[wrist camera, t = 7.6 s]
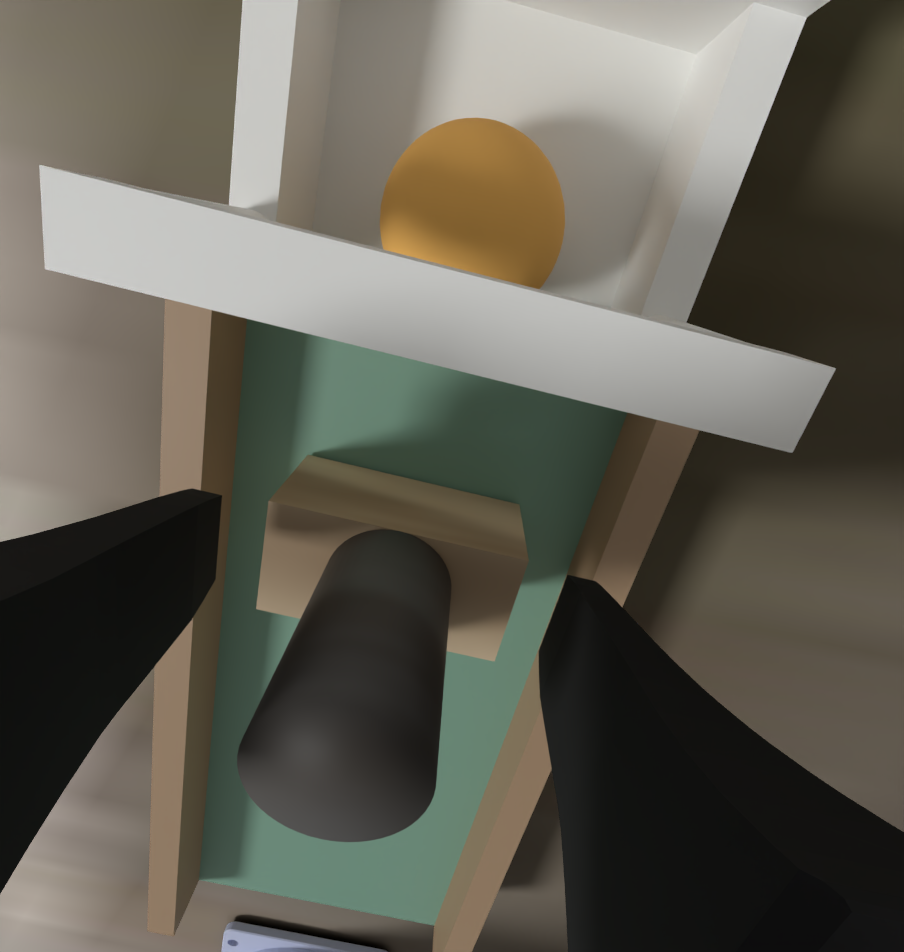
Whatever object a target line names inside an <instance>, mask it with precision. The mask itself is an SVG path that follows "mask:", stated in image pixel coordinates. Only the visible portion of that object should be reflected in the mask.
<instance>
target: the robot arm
mask: <svg viewBox="0 0 904 952" xmlns="http://www.w3.org/2000/svg"><path fill="white" fill-rule="evenodd" d="M221 504H222V495H219V494H215V493H210V492H206V491H201V490H197V489H193V488H191V489H186V490H182V491H178V492H174V493H171V494H167V495H164V496H161V497H158V498H154V499H151V500H148V501H145V502H142V503H139V504H135V505H132V506H129V507H126V508H123V509H119V510H116V511H113V512H110V513H107V514H104V515H100V516H97V517H94V518H90V519H87V520H83V521H80V522H76V523H72V524H69V525H65V526H61V527H58V528H54V529H51V530H47V531H43V532H40V533H36V534H32V535H28V536H24V537H20V538H16V539H11V540H7V541H3V542H0V893H1V892H2V890H3V888H4V887H5V885H6V883H7V882H8V880H9V878H10V877H11V875H12V873H13V872H14V870H15V868H16V867H17V865H18V863H19V862H20V860H21V858H22V856H23V855H24V853H25V851H26V850H27V848H28V847H29V845H30V843H31V842H32V840H33V839H34V837H35V835H36V834H37V832H38V831H39V829H40V827H41V826H42V824H43V823H44V821H45V819H46V818H47V816H48V815H49V813H50V812H51V810H52V808H53V807H54V805H55V804H56V802H57V800H58V799H59V797H60V796H61V794H62V792H63V791H64V789H65V788H66V786H67V785H68V783H69V782H70V780H71V779H72V777H73V776H74V774H75V773H76V771H77V770H78V768H79V766H80V765H81V763H82V762H83V760H84V759H85V757H86V756H87V754H88V753H89V751H90V750H91V748H92V747H93V745H94V744H95V742H96V741H97V739H98V738H99V736H100V735H101V733H102V732H103V731H104V729H105V728H106V727H107V725H108V724H109V723H110V721H111V720H112V719H113V717H114V716H115V715H116V713H117V712H118V711H119V710H120V708H121V707H122V706H123V705H124V703H125V702H126V701H127V700H128V698H129V697H130V696H131V695H132V693H133V692H134V691H135V690H136V689H137V687H138V686H139V685H140V684H141V682H142V681H143V680H144V679H145V677H146V676H147V675H148V674H149V673H150V671H151V670H152V669H153V668H154V666H155V665H156V664H157V663H158V661H159V660H160V659H161V658H162V657H163V655H164V654H165V653H166V652H167V650H168V649H169V648H170V647H171V645H172V644H173V643H174V642H175V640H176V639H177V638H178V637H179V635H180V634H181V633H182V632H183V630H184V629H185V628H186V626H187V625H188V624H189V623H190V621H191V620H192V618H193V617H194V615H195V614H196V612H197V610H198V609H199V607H200V605H201V604H202V602H203V601H204V599H205V597H206V595H207V594H208V592H209V590H210V588H211V587H212V585H213V583H214V582H215V580H216V568H217V555H218V542H219V529H220V517H221ZM539 689H540V701H541V707H542V714H543V720H544V726H545V732H546V738H547V744H548V750H549V756H550V762H551V767H552V773H553V779H554V785H555V791H556V797H557V803H558V810H559V818H560V826H561V836H562V851H563V865H564V880H565V897H566V917H567V937H568V952H904V832H902V831H901V830H899V829H897V828H896V827H894V826H892V825H891V824H889V823H888V822H886V821H884V820H883V819H881V818H880V817H878V816H876V815H875V814H873V813H872V812H870V811H868V810H867V809H865V808H864V807H862V806H860V805H859V804H857V803H856V802H854V801H853V800H851V799H849V798H848V797H846V796H845V795H843V794H841V793H840V792H838V791H837V790H835V789H834V788H832V787H831V786H829V785H828V784H826V783H825V782H824V781H822V780H821V779H819V778H818V777H816V776H815V775H813V774H812V773H810V772H809V771H807V770H806V769H805V768H803V767H802V766H800V765H799V764H798V763H796V762H795V761H793V760H792V759H791V758H789V757H788V756H787V755H785V754H784V753H782V752H781V751H780V750H778V749H777V748H775V747H774V746H773V745H771V744H770V743H769V742H767V741H766V740H765V739H763V738H762V737H761V736H759V735H758V734H757V733H756V732H754V731H753V730H752V729H750V728H749V727H748V726H747V725H745V724H744V723H743V722H742V721H741V720H739V719H738V718H737V717H736V716H735V715H733V714H732V713H731V712H730V711H728V710H727V709H726V708H725V707H724V706H722V705H721V704H720V703H719V702H718V701H716V700H715V699H714V698H713V697H712V696H711V695H710V694H708V693H707V692H706V691H705V690H704V689H703V688H702V687H701V686H700V685H698V684H697V683H696V682H695V681H694V680H693V679H692V678H691V677H690V676H689V675H688V674H687V673H686V672H685V671H684V670H683V669H682V668H680V667H679V666H678V665H677V664H676V663H675V662H674V661H673V660H672V659H671V658H670V657H669V656H668V655H667V654H666V653H665V652H664V651H663V650H662V649H661V648H660V647H659V646H658V645H657V644H656V643H655V642H654V641H653V640H652V638H651V637H650V636H649V635H648V634H647V633H646V632H645V631H644V630H643V629H642V628H641V627H640V626H639V625H638V624H637V623H636V622H635V621H634V619H633V618H632V617H631V616H630V615H629V614H628V613H627V612H626V611H625V610H624V609H623V608H622V607H621V606H620V604H619V603H618V602H617V601H616V600H615V599H614V598H613V597H612V596H611V595H610V594H609V593H608V592H607V591H606V590H605V589H604V588H603V587H602V586H601V585H600V584H599V583H597V582H596V581H593V580H589V579H584V578H580V577H576V576H571V575H567V577H566V580H565V583H564V585H563V588H562V591H561V593H560V596H559V599H558V601H557V604H556V607H555V609H554V612H553V614H552V617H551V620H550V622H549V625H548V628H547V630H546V633H545V636H544V638H543V641H542V644H541V646H540V649H539ZM221 952H388V951H386V950H383V949H378V948H373V947H368V946H363V945H357V944H352V943H347V942H342V941H336V940H331V939H326V938H321V937H316V936H310V935H305V934H300V933H295V932H289V931H284V930H279V929H274V928H269V927H263V926H258V925H253V924H248V923H242V922H236V921H234V922H230V923H229V924H227V926H226V929H225V931H224V935H223V943H222V951H221Z"/></svg>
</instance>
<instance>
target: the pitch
mask: <svg viewBox="0 0 904 952" xmlns="http://www.w3.org/2000/svg"><path fill="white" fill-rule="evenodd" d="M829 1H830V0H243V4H242V19H241V34H240V49H239V64H238V78H237V93H236V108H235V123H234V137H233V152H232V167H231V182H230V197H229V205H225V204H220V203H215V202H210V201H205V200H200V199H195V198H190V197H185V196H180V195H175V194H170V193H165V192H160V191H155V190H150V189H145V188H141V187H137V186H133V185H129V184H125V183H121V182H118V181H114V180H110V179H106V178H102V177H97V176H92V175H87V174H82V173H77V172H72V171H67V170H63V169H58V168H53V167H48V166H43V165H39V167H40V186H41V204H42V223H43V241H44V260H45V269H47V270H51V271H55V272H60V273H64V274H68V275H72V276H76V277H80V278H84V279H88V280H92V281H96V282H100V283H104V284H108V285H112V286H116V287H120V288H124V289H128V290H133V291H137V292H141V293H145V294H149V295H153V296H157V297H161V298H165V320H164V356H163V392H162V428H161V464H160V497H161V496H164V495H167V494H171V493H174V492H178V491H182V490H186V489H191V488H193V489H197V490H201V491H206V492H210V493H215V494H219V495H222V504H221V517H220V529H219V542H218V555H217V568H216V580H215V582H214V583H213V585H212V587H211V588H210V590H209V592H208V594H207V595H206V597H205V599H204V601H203V602H202V604H201V605H200V607H199V609H198V610H197V612H196V614H195V615H194V617H193V618H192V620H191V621H190V623H189V624H188V625H187V626H186V628H185V629H184V630H183V632H182V633H181V634H180V635H179V637H178V638H177V639H176V640H175V642H174V643H173V644H172V645H171V647H170V648H169V649H168V650H167V652H166V653H165V654H164V655H163V657H162V658H161V659H160V660H159V661H158V663H157V664H156V665H155V678H154V714H153V750H152V785H151V821H150V857H149V893H148V928H147V931H148V932H154V933H159V934H164V935H169V936H174V935H175V932H176V930H177V928H178V926H179V923H180V921H181V919H182V917H183V914H184V912H185V910H186V908H187V905H188V903H189V901H190V899H191V896H192V894H193V892H194V890H195V888H196V885H197V883H198V881H199V880H203V881H208V882H213V883H218V884H223V885H228V886H233V887H239V888H244V889H249V890H254V891H259V892H264V893H269V894H275V895H280V896H285V897H290V898H295V899H300V900H305V901H311V902H316V903H321V904H326V905H331V906H336V907H341V908H347V909H352V910H357V911H362V912H367V913H372V914H377V915H382V916H388V917H393V918H398V919H403V920H408V921H413V922H418V923H424V924H429V925H434V935H433V951H432V952H472V950H473V948H474V946H475V943H476V941H477V939H478V936H479V934H480V932H481V930H482V927H483V925H484V923H485V920H486V918H487V916H488V914H489V911H490V909H491V907H492V904H493V902H494V900H495V898H496V895H497V893H498V891H499V888H500V886H501V884H502V882H503V879H504V877H505V875H506V872H507V870H508V868H509V866H510V863H511V861H512V859H513V856H514V854H515V852H516V849H517V847H518V845H519V843H520V840H521V838H522V836H523V833H524V831H525V829H526V827H527V824H528V822H529V820H530V817H531V815H532V813H533V811H534V808H535V806H536V804H537V801H538V799H539V797H540V795H541V792H542V790H543V788H544V785H545V783H546V781H547V779H548V776H549V774H550V772H551V769H552V767H551V762H550V756H549V750H548V744H547V738H546V732H545V726H544V720H543V714H542V707H541V701H540V689H539V649H540V646H541V644H542V641H543V638H544V636H545V633H546V630H547V628H548V625H549V622H550V620H551V617H552V614H553V612H554V609H555V607H556V604H557V601H558V599H559V596H560V593H561V591H562V588H563V585H564V583H565V580H566V577H567V575H571V576H576V577H580V578H584V579H589V580H593V581H596V582H597V583H599V584H600V585H601V586H602V587H603V588H604V589H605V590H606V591H607V592H608V593H609V594H610V595H611V596H612V597H613V598H614V599H615V600H616V601H617V602H618V603H619V604H620V606H621V607H623V605H624V602H625V600H626V598H627V595H628V593H629V591H630V589H631V586H632V584H633V582H634V579H635V577H636V575H637V573H638V570H639V568H640V566H641V563H642V561H643V559H644V557H645V554H646V552H647V550H648V547H649V545H650V543H651V540H652V538H653V536H654V534H655V531H656V529H657V527H658V524H659V522H660V520H661V518H662V515H663V513H664V511H665V508H666V506H667V504H668V502H669V499H670V497H671V495H672V492H673V490H674V488H675V486H676V483H677V481H678V479H679V476H680V474H681V472H682V470H683V467H684V465H685V463H686V460H687V458H688V456H689V454H690V451H691V449H692V447H693V444H694V442H695V440H696V437H697V435H698V433H699V431H700V430H701V431H705V432H709V433H713V434H717V435H721V436H725V437H729V438H733V439H737V440H741V441H745V442H749V443H753V444H757V445H761V446H765V447H770V448H774V449H778V450H782V451H786V452H790V453H793V451H794V449H795V447H796V445H797V443H798V441H799V439H800V437H801V435H802V433H803V432H804V430H805V428H806V426H807V424H808V422H809V420H810V418H811V416H812V414H813V412H814V410H815V408H816V406H817V404H818V402H819V401H820V399H821V397H822V395H823V393H824V391H825V389H826V387H827V385H828V383H829V381H830V379H831V377H832V375H833V373H834V371H835V370H836V368H833V367H830V366H827V365H824V364H821V363H817V362H814V361H811V360H808V359H805V358H802V357H799V356H795V355H792V354H789V353H786V352H782V351H778V350H774V349H770V348H766V347H762V346H758V345H754V344H751V343H747V342H744V341H741V340H738V339H735V338H732V337H729V336H726V335H723V334H720V333H716V332H713V331H710V330H707V329H704V328H701V327H698V326H695V325H692V324H689V323H686V322H687V320H688V317H689V315H690V312H691V310H692V307H693V305H694V302H695V299H696V297H697V294H698V292H699V289H700V287H701V284H702V282H703V279H704V277H705V274H706V272H707V269H708V266H709V264H710V261H711V259H712V256H713V254H714V251H715V249H716V246H717V244H718V241H719V239H720V236H721V234H722V231H723V228H724V226H725V223H726V221H727V218H728V216H729V213H730V211H731V208H732V206H733V203H734V201H735V198H736V196H737V193H738V190H739V188H740V185H741V183H742V180H743V178H744V175H745V173H746V170H747V168H748V165H749V163H750V160H751V157H752V155H753V152H754V150H755V147H756V145H757V142H758V140H759V137H760V135H761V132H762V130H763V127H764V125H765V122H766V119H767V117H768V114H769V112H770V109H771V107H772V104H773V102H774V99H775V97H776V94H777V92H778V89H779V87H780V84H781V81H782V79H783V76H784V74H785V71H786V69H787V66H788V64H789V61H790V59H791V56H792V54H793V51H794V48H795V46H796V43H797V41H798V38H799V36H800V33H801V31H802V28H803V26H804V23H805V21H806V18H807V17H808V16H809V15H811V14H812V13H814V12H815V11H816V10H818V9H819V8H821V7H822V6H823V5H825V4H826V3H827V2H829ZM462 118H487V119H491V120H496V121H499V122H502V123H505V124H507V125H509V126H511V127H514V128H515V129H517V130H518V131H520V132H522V133H523V134H525V135H526V136H527V137H528V138H530V139H531V140H532V141H533V142H534V143H535V144H536V145H537V146H538V147H539V148H540V149H541V151H542V152H543V153H544V155H545V156H546V157H547V159H548V160H549V162H550V163H551V165H552V167H553V169H554V171H555V173H556V176H557V178H558V181H559V183H560V186H561V191H562V195H563V200H564V208H565V229H564V236H563V243H562V246H561V250H560V253H559V256H558V259H557V261H556V263H555V266H554V268H553V270H552V272H551V273H550V275H549V277H548V278H547V280H546V281H545V283H544V284H543V286H542V287H541V288H540V289H536V288H532V287H528V286H524V285H520V284H516V283H512V282H508V281H504V280H501V279H497V278H493V277H489V276H485V275H481V274H477V273H473V272H469V271H465V270H461V269H458V268H454V267H450V266H446V265H442V264H438V263H434V262H430V261H426V260H422V259H418V258H415V257H411V256H407V255H403V254H399V253H395V252H391V251H387V250H383V246H382V241H381V233H380V210H381V202H382V197H383V193H384V189H385V186H386V183H387V181H388V178H389V176H390V174H391V172H392V169H393V168H394V166H395V164H396V163H397V161H398V159H399V158H400V157H401V155H402V154H403V153H404V152H405V150H406V149H407V148H408V147H409V146H410V145H411V144H412V143H413V142H414V141H415V140H416V139H417V138H419V137H420V136H421V135H423V134H424V133H426V132H427V131H429V130H430V129H432V128H434V127H436V126H438V125H441V124H443V123H445V122H449V121H452V120H455V119H462ZM307 455H312V456H316V457H320V458H324V459H329V460H333V461H337V462H341V463H346V464H350V465H354V466H358V467H363V468H367V469H371V470H375V471H380V472H384V473H388V474H392V475H397V476H401V477H405V478H409V479H414V480H418V481H422V482H426V483H431V484H435V485H439V486H443V487H448V488H452V489H456V490H460V491H465V492H469V493H473V494H477V495H481V496H486V497H490V498H494V499H498V500H503V501H507V502H511V503H515V504H519V505H520V511H521V517H522V523H523V529H524V535H525V541H526V547H527V553H528V559H529V562H528V565H527V568H526V571H525V574H524V577H523V579H522V582H521V585H520V588H519V591H518V594H517V597H516V600H515V603H514V606H513V609H512V612H511V615H510V618H509V621H508V623H507V626H506V629H505V632H504V635H503V638H502V641H501V644H500V647H499V650H498V653H497V656H496V659H495V662H494V661H489V660H485V659H480V658H476V657H471V656H467V655H462V654H458V653H453V652H449V651H447V652H446V665H445V678H444V690H443V703H442V716H441V729H440V741H439V754H438V767H437V780H436V789H435V793H434V797H433V799H432V801H431V804H430V805H429V807H428V808H427V810H426V811H425V813H424V814H423V815H422V816H421V817H420V818H419V819H418V820H417V821H416V822H414V823H413V824H412V825H410V826H409V827H407V828H406V829H404V830H402V831H400V832H398V833H396V834H393V835H391V836H388V837H384V838H381V839H376V840H371V841H363V842H336V841H329V840H323V839H318V838H314V837H310V836H307V835H305V834H302V833H299V832H296V831H294V830H292V829H290V828H288V827H286V826H284V825H282V824H280V823H279V822H277V821H275V820H274V819H273V818H271V817H270V816H268V815H267V814H266V813H265V812H264V811H262V810H261V809H260V808H259V807H258V806H257V805H256V804H255V802H254V801H253V800H252V799H251V798H250V796H249V795H248V793H247V792H246V790H245V788H244V786H243V784H242V782H241V779H240V776H239V773H238V767H237V754H238V749H239V745H240V743H241V740H242V738H243V736H244V734H245V732H246V730H247V728H248V726H249V723H250V721H251V719H252V717H253V715H254V713H255V711H256V709H257V707H258V705H259V703H260V701H261V699H262V697H263V695H264V693H265V691H266V689H267V686H268V684H269V682H270V680H271V678H272V676H273V674H274V672H275V670H276V668H277V666H278V664H279V662H280V660H281V658H282V656H283V654H284V652H285V649H286V647H287V645H288V643H289V641H290V639H291V637H292V635H293V633H294V631H295V629H296V627H297V625H298V623H299V621H300V619H299V618H294V617H290V616H285V615H281V614H276V613H272V612H267V611H262V610H258V609H256V605H257V596H258V588H259V579H260V570H261V562H262V553H263V544H264V536H265V527H266V518H267V510H268V501H269V500H270V499H271V497H272V496H273V495H274V494H275V493H276V492H277V490H278V489H279V488H280V487H281V486H282V484H283V483H284V482H285V481H286V480H287V479H288V477H289V476H290V475H291V474H292V473H293V471H294V470H295V469H296V468H297V467H298V466H299V464H300V463H301V462H302V461H303V460H304V459H305V457H306V456H307Z"/></svg>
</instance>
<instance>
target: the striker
mask: <svg viewBox="0 0 904 952" xmlns="http://www.w3.org/2000/svg"><path fill="white" fill-rule="evenodd" d="M528 562H529V559H528V553H527V547H526V541H525V535H524V529H523V523H522V517H521V511H520V505H519V504H515V503H511V502H507V501H503V500H498V499H494V498H490V497H486V496H481V495H477V494H473V493H469V492H465V491H460V490H456V489H452V488H448V487H443V486H439V485H435V484H431V483H426V482H422V481H418V480H414V479H409V478H405V477H401V476H397V475H392V474H388V473H384V472H380V471H375V470H371V469H367V468H363V467H358V466H354V465H350V464H346V463H341V462H337V461H333V460H329V459H324V458H320V457H316V456H312V455H307V456H306V457H305V459H304V460H303V461H302V462H301V463H300V464H299V466H298V467H297V468H296V469H295V470H294V471H293V473H292V474H291V475H290V476H289V477H288V479H287V480H286V481H285V482H284V483H283V484H282V486H281V487H280V488H279V489H278V490H277V492H276V493H275V494H274V495H273V496H272V497H271V499H270V500H269V501H268V510H267V518H266V527H265V536H264V544H263V553H262V562H261V570H260V579H259V588H258V596H257V605H256V609H258V610H262V611H267V612H272V613H276V614H281V615H285V616H290V617H294V618H299V619H300V621H299V623H298V625H297V627H296V629H295V631H294V633H293V635H292V637H291V639H290V641H289V643H288V645H287V647H286V649H285V652H284V654H283V656H282V658H281V660H280V662H279V664H278V666H277V668H276V670H275V672H274V674H273V676H272V678H271V680H270V682H269V684H268V686H267V689H266V691H265V693H264V695H263V697H262V699H261V701H260V703H259V705H258V707H257V709H256V711H255V713H254V715H253V717H252V719H251V721H250V723H249V726H248V728H247V730H246V732H245V734H244V736H243V738H242V740H241V743H240V745H239V749H238V754H237V767H238V773H239V776H240V779H241V782H242V784H243V786H244V788H245V790H246V792H247V793H248V795H249V796H250V798H251V799H252V800H253V801H254V802H255V804H256V805H257V806H258V807H259V808H260V809H261V810H262V811H264V812H265V813H266V814H267V815H268V816H270V817H271V818H273V819H274V820H275V821H277V822H279V823H280V824H282V825H284V826H286V827H288V828H290V829H292V830H294V831H296V832H299V833H302V834H305V835H307V836H310V837H314V838H318V839H323V840H329V841H336V842H363V841H371V840H376V839H381V838H384V837H388V836H391V835H393V834H396V833H398V832H400V831H402V830H404V829H406V828H407V827H409V826H410V825H412V824H413V823H414V822H416V821H417V820H418V819H419V818H420V817H421V816H422V815H423V814H424V813H425V811H426V810H427V808H428V807H429V805H430V804H431V801H432V799H433V797H434V793H435V789H436V780H437V767H438V754H439V741H440V729H441V716H442V703H443V690H444V678H445V665H446V652H447V651H449V652H453V653H458V654H462V655H467V656H471V657H476V658H480V659H485V660H489V661H494V662H495V659H496V656H497V653H498V650H499V647H500V644H501V641H502V638H503V635H504V632H505V629H506V626H507V623H508V621H509V618H510V615H511V612H512V609H513V606H514V603H515V600H516V597H517V594H518V591H519V588H520V585H521V582H522V579H523V577H524V574H525V571H526V568H527V565H528Z"/></svg>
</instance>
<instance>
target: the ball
mask: <svg viewBox="0 0 904 952" xmlns="http://www.w3.org/2000/svg"><path fill="white" fill-rule="evenodd" d="M564 229H565V208H564V200H563V195H562V191H561V186H560V183H559V181H558V178H557V176H556V173H555V171H554V169H553V167H552V165H551V163H550V162H549V160H548V159H547V157H546V156H545V155H544V153H543V152H542V151H541V149H540V148H539V147H538V146H537V145H536V144H535V143H534V142H533V141H532V140H531V139H530V138H528V137H527V136H526V135H525V134H523V133H522V132H520V131H518V130H517V129H515V128H514V127H511V126H509V125H507V124H505V123H502V122H499V121H496V120H491V119H487V118H462V119H455V120H452V121H449V122H445V123H443V124H441V125H438V126H436V127H434V128H432V129H430V130H429V131H427V132H426V133H424V134H423V135H421V136H420V137H419V138H417V139H416V140H415V141H414V142H413V143H412V144H411V145H410V146H409V147H408V148H407V149H406V150H405V152H404V153H403V154H402V155H401V157H400V158H399V159H398V161H397V163H396V164H395V166H394V168H393V169H392V172H391V174H390V176H389V178H388V181H387V183H386V186H385V189H384V193H383V197H382V202H381V210H380V233H381V241H382V246H383V250H387V251H391V252H395V253H399V254H403V255H407V256H411V257H415V258H418V259H422V260H426V261H430V262H434V263H438V264H442V265H446V266H450V267H454V268H458V269H461V270H465V271H469V272H473V273H477V274H481V275H485V276H489V277H493V278H497V279H501V280H504V281H508V282H512V283H516V284H520V285H524V286H528V287H532V288H536V289H540V288H541V287H542V286H543V284H544V283H545V281H546V280H547V278H548V277H549V275H550V273H551V272H552V270H553V268H554V266H555V263H556V261H557V259H558V256H559V253H560V250H561V246H562V243H563V236H564Z"/></svg>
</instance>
